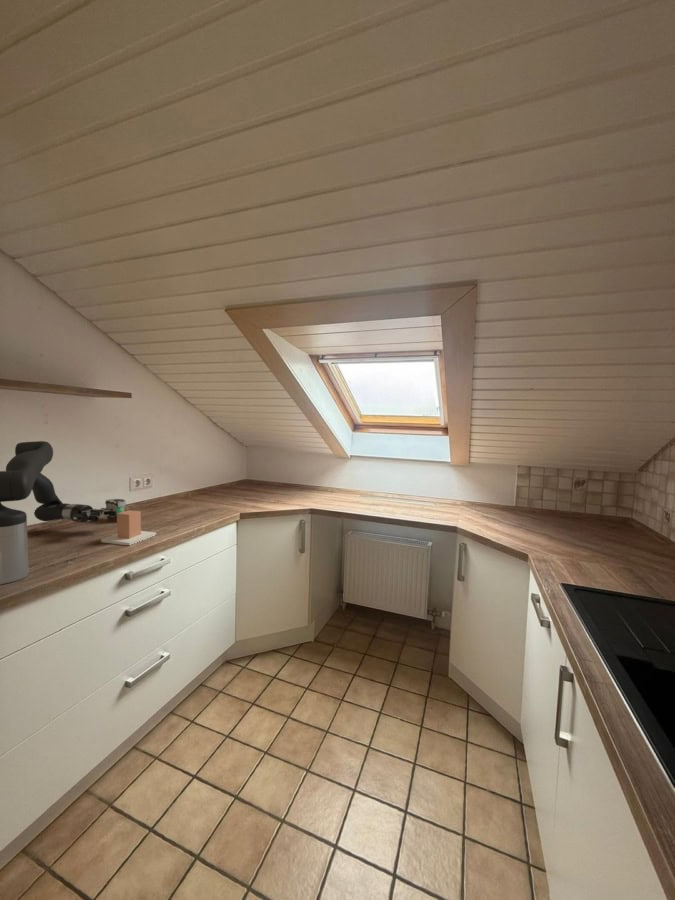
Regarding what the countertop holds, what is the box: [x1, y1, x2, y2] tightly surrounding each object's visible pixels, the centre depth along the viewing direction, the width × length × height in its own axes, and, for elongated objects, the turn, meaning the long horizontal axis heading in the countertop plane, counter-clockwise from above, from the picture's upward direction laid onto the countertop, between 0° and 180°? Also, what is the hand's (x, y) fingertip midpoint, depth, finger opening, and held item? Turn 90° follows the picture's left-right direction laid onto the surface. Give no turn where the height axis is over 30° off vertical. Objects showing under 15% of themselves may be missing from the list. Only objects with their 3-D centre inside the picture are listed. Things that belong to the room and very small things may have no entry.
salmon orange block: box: [116, 509, 142, 539], centre depth 144 cm, size 6×6×10 cm
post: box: [100, 530, 157, 546], centre depth 144 cm, size 14×14×8 cm
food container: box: [104, 498, 127, 523], centre depth 171 cm, size 12×6×10 cm, turn 59°
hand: (107, 516), depth 146 cm, fingers open, 8 cm apart
